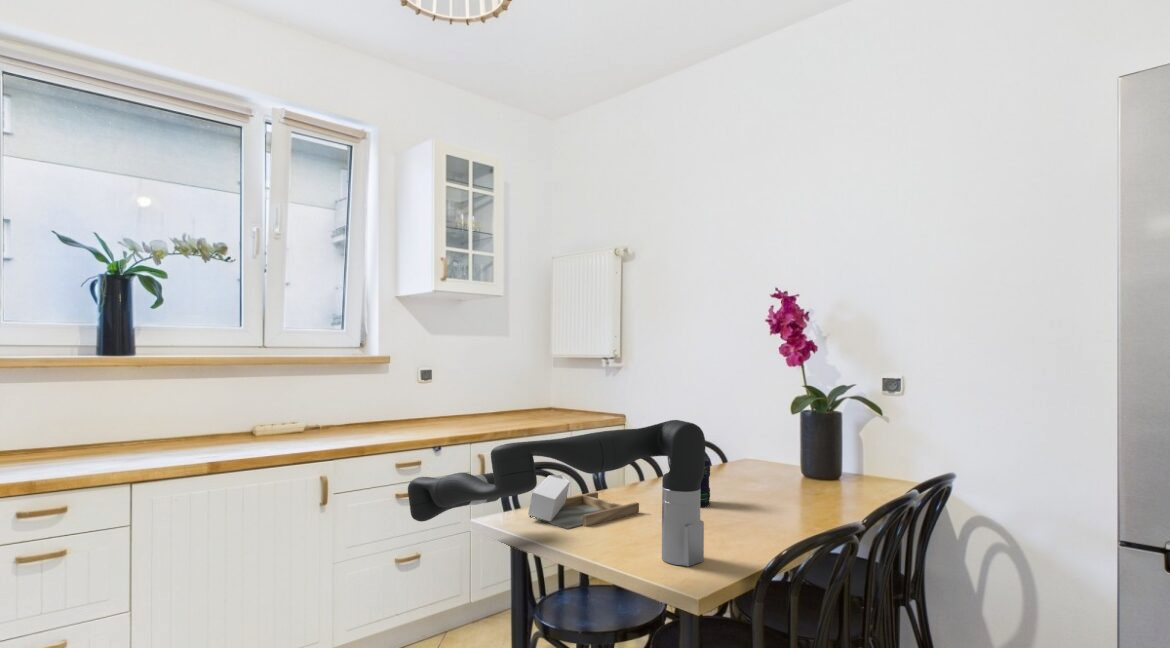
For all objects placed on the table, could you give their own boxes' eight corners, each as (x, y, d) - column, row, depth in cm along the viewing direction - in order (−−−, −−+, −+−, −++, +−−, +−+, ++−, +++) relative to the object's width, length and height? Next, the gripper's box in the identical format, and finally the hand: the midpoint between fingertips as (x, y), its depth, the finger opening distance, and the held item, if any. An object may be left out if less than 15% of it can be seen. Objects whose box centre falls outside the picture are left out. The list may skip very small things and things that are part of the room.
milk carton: (550, 522, 178) (569, 498, 197) (555, 499, 177) (573, 477, 196) (527, 514, 180) (548, 491, 198) (532, 492, 179) (552, 470, 197)
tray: (638, 512, 192) (639, 503, 192) (569, 530, 172) (570, 519, 172) (595, 501, 206) (595, 491, 206) (527, 515, 186) (527, 505, 186)
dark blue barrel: (677, 506, 201) (678, 459, 201) (681, 499, 210) (682, 455, 211) (708, 508, 198) (709, 461, 198) (711, 501, 207) (711, 456, 208)
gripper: (494, 478, 159) (546, 470, 171) (466, 471, 168) (517, 463, 180) (494, 508, 159) (546, 498, 170) (465, 498, 168) (516, 489, 180)
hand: (531, 480), depth 175 cm, fingers closed
